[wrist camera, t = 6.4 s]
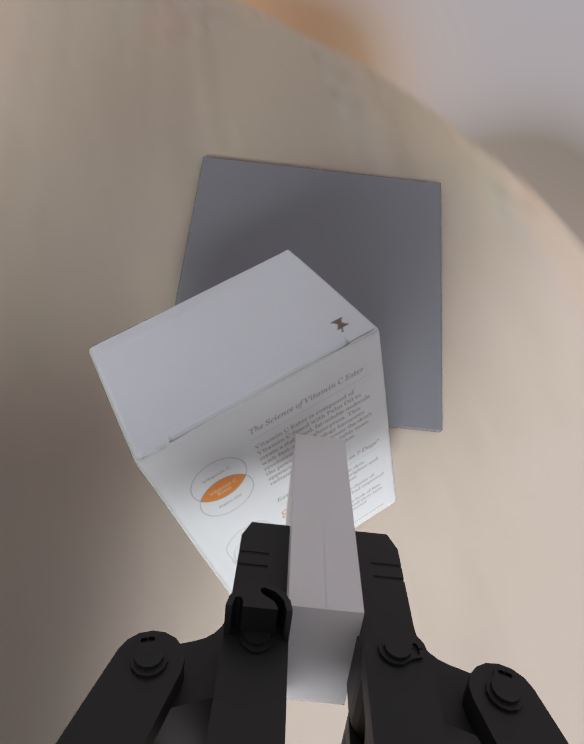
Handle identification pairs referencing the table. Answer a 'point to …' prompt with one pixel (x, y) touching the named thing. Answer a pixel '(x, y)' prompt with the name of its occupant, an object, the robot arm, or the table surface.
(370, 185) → the mat
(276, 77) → the table surface
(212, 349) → the small box
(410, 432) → the table surface
